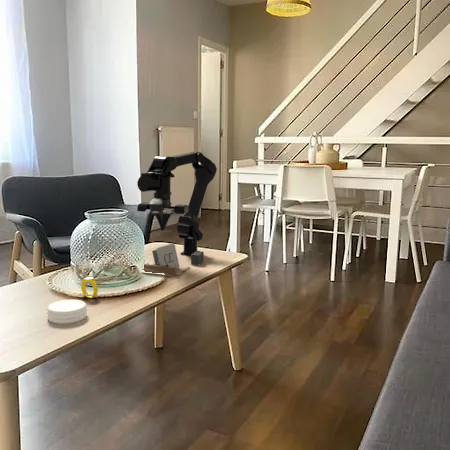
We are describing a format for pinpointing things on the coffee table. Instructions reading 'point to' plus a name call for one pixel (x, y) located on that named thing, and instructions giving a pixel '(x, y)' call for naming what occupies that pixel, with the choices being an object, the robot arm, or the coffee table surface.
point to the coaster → (66, 311)
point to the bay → (162, 269)
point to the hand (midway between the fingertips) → (162, 230)
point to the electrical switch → (166, 256)
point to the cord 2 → (197, 258)
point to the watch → (95, 288)
